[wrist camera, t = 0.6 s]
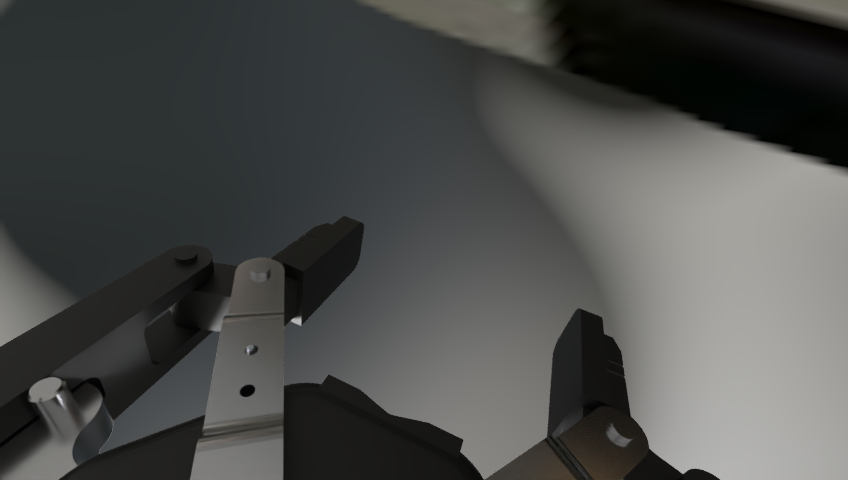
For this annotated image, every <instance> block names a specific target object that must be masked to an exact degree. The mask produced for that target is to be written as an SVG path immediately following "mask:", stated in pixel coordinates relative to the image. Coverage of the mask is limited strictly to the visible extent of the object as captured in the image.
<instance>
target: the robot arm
mask: <svg viewBox="0 0 848 480" xmlns="http://www.w3.org/2000/svg"><path fill="white" fill-rule="evenodd" d="M363 233H364V224H363V223H362V222H359V221H357V220H354V219H351V218H349V217H347V216H343V217H342V218H340V219H339V220H338V221H337V222H335V223H334V224H333V225H331V224H329V223H326V224H323V225H319V226H316V227H314V228H313V229H311V230H310V231H308V232H307V233H306V234H305V235H303V236H301V237H300V238H299V239H298V240H297V241H295V242H293V243H292V244H290V245H289V246H288V247H287V248H285V249H284V250H282V251H281V252H279V253H278V254H277V255H276V256H274V257H273V258H271V259H269V258H255V259H250V260H247V261H245V262H243V263H242V264H240V265H239V266H232V265H226V264H219V263H214V262H213V255H212V253H211V251H210V250H208V249H207V248H205V247H202V246H197V245H184V246H178V247H175V248H172V249H170V250H168V251H166V252H164V253H162V254H161V255H159V256H157V257H156V258H154V259H152V260H150V261H149V262H147V263H145V264H143V265H141V266H140V267H138V268H136V269H135V270H133V271H131V272H129V273H128V274H126V275H124V276H122V277H121V278H119V279H117V280H115V281H114V282H112V283H110V284H109V285H107V286H105V287H103V288H102V289H100V290H98V291H96V292H95V293H93V294H91V295H89V296H88V297H86V298H84V299H82V300H81V301H79V302H77V303H75V304H74V305H72V306H71V307H69V308H67V309H65V310H64V311H62V312H60V313H58V314H56V315H55V316H53V317H51V318H49V319H48V320H46V321H44V322H43V323H41V324H39V325H37V326H36V327H34V328H32V329H30V330H29V331H27V332H25V333H23V334H22V335H20V336H18V337H17V338H15V339H13V340H11V341H10V342H8V343H6V344H5V345H3V346H1V347H0V480H484V479H483V478H482V476H481V474H480V473H479V472H478V470H477V469H476V468H475V467H474V465H473V464H472V463H471V462H470V461H469V460H468V459H467V458H466V457H465V456H464V455H463V454H462V453H461V452H460V450H461V447H462V443H463V439H461V438H459V437H456V436H454V435H452V434H450V433H448V432H446V431H444V430H442V429H440V428H438V427H436V426H434V425H432V424H430V423H426V422H422V421H417V420H412V419H407V418H403V417H398V416H394V415H390V414H388V413H387V412H386V411H384V410H383V409H382V408H381V407H380V406H379V405H377V404H376V403H375V402H374V401H372V399H370V398H369V397H368V396H367V395H366V394H364V393H363V392H362V391H361V390H359V389H357V388H355V387H353V386H351V385H349V384H347V383H345V382H343V381H341V380H339V379H337V378H335V377H332V376H331V375H328V376H327V378H326V379H325V380H324V382H323V383H322V384H317V383H296V384H290V385H286V386H284V326H286V325H287V324H288V323H289V322H290V321H292V322H294V323H296V324H298V325H300V326H302V325H303V323H304V322H305V321H306V320H307V319H308V318H309V317H310V316H311V315H312V314H313V313H314V312H315V311H316V310H317V309H318V308H319V307H320V305H322V303H323V302H324V301H325V300H326V299H327V298H328V297H329V296H330V295H331V294H332V293H333V292H334V291H335V290H336V289H337V288H338V287H339V285H340V284H341V283H342V282H343V281H344V280H345V279H346V278H347V277H348V276H349V275H350V274H351V273H352V272H353V271H354V269H355V268H356V266H357V264H358V261H359V258H360V253H361V246H362V240H363ZM169 307H170V311H168V312H167V313H165V314H164V315H163V316H161V317H160V318H159V319H157V320H156V321H155V322H153V323H152V324H151V325H149V326H148V324H149V323H150V322H151V321H152V320H153V319H154V318H156V317H157V316H158V315H160V314H161V313H162V312H164V311H165V310H167V309H168V308H169ZM147 326H148V327H147ZM213 331H219V332H220V338H219V343H218V348H217V354H216V359H215V365H214V371H213V376H212V382H211V387H210V393H209V398H208V404H207V409H206V414H205V415H203V416H200V417H197V418H195V419H192V420H189V421H187V422H184V423H181V424H179V425H176V426H173V427H171V428H168V429H165V430H163V431H160V432H157V433H154V434H152V435H149V436H146V437H143V438H141V439H139V440H136V441H133V442H130V443H127V444H125V445H122V446H119V447H117V448H114V449H111V450H109V451H106V452H104V453H102V454H99V452H100V449H101V448H102V447H103V446H104V444H105V443H106V442H107V440H108V439H109V437H110V435H111V433H112V430H113V420H114V419H116V418H117V417H118V416H119V415H120V414H121V413H122V412H123V411H125V410H126V409H127V408H128V407H129V406H130V405H131V404H132V403H133V402H135V401H136V400H137V399H138V398H139V397H140V396H141V395H142V394H144V393H145V392H146V391H147V390H148V389H149V388H150V387H151V386H152V385H154V384H155V383H156V382H157V381H158V380H159V379H160V378H161V377H163V376H164V375H165V374H166V373H167V372H168V371H169V370H170V369H171V368H173V367H174V366H175V365H176V364H177V363H178V362H179V361H180V360H181V359H183V358H184V357H185V356H186V355H187V354H188V353H189V352H190V351H191V350H193V349H194V348H195V347H196V346H197V345H198V344H199V343H201V342H202V341H203V340H204V339H205V338H206V337H207V336H208V335H209V334H211V333H212V332H213ZM622 366H623V361H622V355H621V351H620V349H619V347H618V346H617V344H616V342H615V341H614V339H613V338H612V337H610V336H607V335H605V334H604V331H603V320H602V317H600V316H598V315H595V314H592V313H590V312H587V311H585V310H582V309H580V308H578V309H577V310H576V311H575V312H574V314H573V316H572V317H571V319H570V321H569V322H568V324H567V326H566V327H565V329H564V330H563V332H562V334H561V336H560V337H559V339H558V341H557V343H556V345H555V348H554V352H553V359H552V374H551V388H550V403H549V417H548V418H549V419H548V432H547V438H545V439H544V440H542V441H541V442H539V443H538V444H536V445H535V446H533V447H532V448H531V449H529V450H528V451H526V452H525V453H523V454H522V455H520V456H519V457H517V458H516V459H515V460H513V461H512V462H510V463H509V464H507V465H506V466H504V467H503V468H501V469H500V470H498V471H497V472H496V473H494V474H493V475H491V476H490V477H488V478H487V479H485V480H720V479H718V478H717V477H716V476H714V475H712V474H710V473H708V472H706V471H704V470H700V469H690V470H688V471H687V472H686V473H684V474H682V473H680V472H679V471H678V470H676V469H675V468H674V467H672V466H671V465H669V464H668V463H667V462H665V461H664V460H662V459H661V458H660V457H659V456H657V455H656V454H655V453H654V452H652V451H651V450H650V449H649V445H648V440H647V437H646V435H645V433H644V432H643V430H642V428H641V427H640V426H639V425H638V423H637V422H636V421H635V420H634V419H633V418H632V417H631V415H630V408H629V402H628V395H627V388H626V382H625V378H624V376H625V375H624V368H623V367H622Z"/></svg>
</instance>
